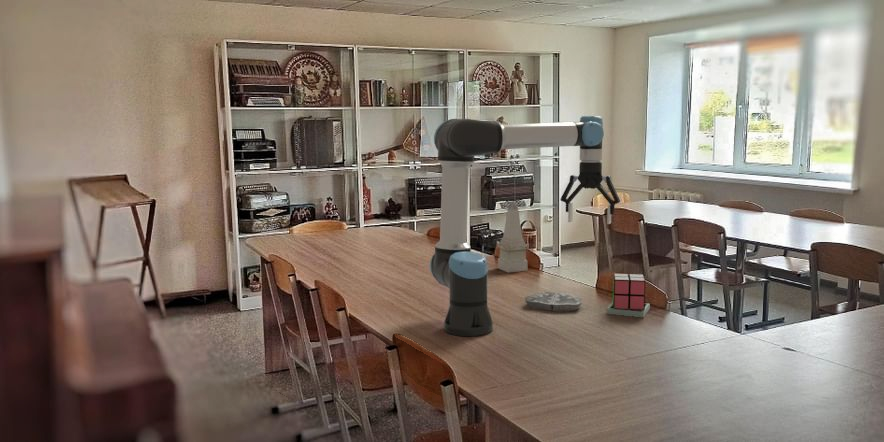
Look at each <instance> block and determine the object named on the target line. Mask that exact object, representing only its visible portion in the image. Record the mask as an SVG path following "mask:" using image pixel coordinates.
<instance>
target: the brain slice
mask: <svg viewBox="0 0 884 442" xmlns="http://www.w3.org/2000/svg"><path fill="white" fill-rule="evenodd" d="M524 298H525V299H524V301H525V303H526V304H527V306H528V307H530V308H531V309H534V310H540V311H546V312H547V311H548V312H559V311H560V312H574V311H576V310H577V309H578V308H579V307H580V305H581V304H582V302H583V298H580V297H579V296H577V295H573V294H571V293H566V292H556V293H555V292H550V291H548V292H546V291H545V292H539V293H538V292H537V293H536V294H532V295H528V296H527V297H524Z"/></svg>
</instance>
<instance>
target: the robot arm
mask: <svg viewBox="0 0 884 442" xmlns="http://www.w3.org/2000/svg"><path fill="white" fill-rule="evenodd" d="M603 124H604V122H603V118H602V116H599V115H588V116H587V115H586V116H585V115H584V116H582V115H581V117H580V119H579V121H557V122H556V121H555V122H543V123H541V122H540V123H512V124H511V123H509V124H508V123H505V124H501V123H500V122H499V121H498V120H494V121H492V120H491V121H490V120H487V121H486V120H479V119H472V118H450V119H447V120H445V121H443V122H442V123H440V124H439V125H438V126H437V128H436V129H435V132H434V134H433V135H434V136H433V143H434V146H435V149H436V150H437V162H438V163H439V164H440V165H441V169H442V170H441V172H442V173H441V197H440V199H441V200H440V223H439V224H440V226H439V227H440V228H439V241H437V243H435V245H434V254H433V255H432V256H431V259H430V261H429V262H430V263H429V270H430V273H431V275H432V277H433V278H434V279H435V281H437V282H438V283H439V284H440V285H442V286H444V287H446V288H448V289H449V291H448V292H449V295H448V296H449V306H448V309H447V312H446V315H445V320H444V321H443V330H444V331H445V332H446V333H447V334H450V335H453V336H460V337H479V336H484V335H487V334H490V333H491V332H493V330H494V321H493V319H492V315H491V312H490V310H489V307H488V306H489V305H488V271H489V268H488V261H487V258H486V257H485V256H484V255H482V254H481V253H479V252H473V251H471V248H472V247H471V245H470V244H469V243H468V241H467V229H468V228H467V227H468V206H469V202H468V200H469V181H470V180H469V179H470V178H469V177H470V168H471V166H472V165H473V164H474V163H475V156H481V155H487V154H498V153H500V152H501V151H502V150H515V149H516V150H518V149H538V148H539V149H540V148H559V147H579V161H580V162H579V165H578V166H579V169H578V170H579V173H578V175H575V174H572V175H570V176H569V182H568V183H567V185H566V187H565V190H564V191H563V193H562V196H561V197H560V201H561V202H563V203H565V212H566V213H568V214H567V215H568V216H567V217H568V219H567V221H568V223H572V222H573V211H574V210H573V209H574V208H573V207H574V206H573V202H572V200H573V199H575V197H576V196H577V195H578V194H579V193H580V191H582V189H583V188H584V189H591V190H595V189H597V190H598V192H599V193H600V194H601V195H602V196H603V197H604V199H606V201H607V202H608V204H607V212H606V213H607V215H606V216H607V217H606V218H607V221H606V224H607V225H610V224H612V215H615V206H616V205H617V204H620V203H621V199H620V197H619V195H618V193H617V191H616V188H615V186H614V184H613V182H612V176H611V175H607V176H606V175H605V176H603V175H602V172H603V167H602V165H603V164H602V160H603V139H604V125H603ZM577 180H578V182H579V185H577V187H576V188H575V190H573V192H572V193H571V190H572V188H573V186H574V184H575V182H576V181H577ZM603 181H604V183H606V186H607V188H608V190H609V192H610V193H608V192H607V190H606V189H605V188H604V186H603V184H601V183H602V182H603ZM570 193H571V194H570ZM569 194H570V195H569ZM568 195H569V196H568ZM611 196H612V197H611Z"/></svg>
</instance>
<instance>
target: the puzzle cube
mask: <svg viewBox="0 0 884 442" xmlns="http://www.w3.org/2000/svg"><path fill="white" fill-rule="evenodd" d="M612 282H613V283H612V284H613V285H612V302H613V308H614V309H626V310H628V309H630V310H645V303H646V285H647V284H646V279H645V276H644V274H635V273H632V274H631V273H629V274H628V273H613V281H612Z"/></svg>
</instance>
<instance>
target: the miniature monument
mask: <svg viewBox="0 0 884 442" xmlns="http://www.w3.org/2000/svg"><path fill="white" fill-rule="evenodd" d="M522 232H523V231H522V226H521V219H520V211H519V206H518V205H517V204H516V203H515V202H514V201H511V203H509V204H508V206H507V209H506V216H505V223H504V231H503V234H502V235H503V236H502V237H501V240H500V241H498V240H496V248H498V249H499V257H498V258H497V269H499V270H501V271H503V272H506V273H515V272H516V273H517V272H526V271H528V269H529V268H528V264H529V263H528V260H527V255H526V254H527V250H529V249H530V243H529V242H528V243H527V242H525V238H523V233H522Z"/></svg>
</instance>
